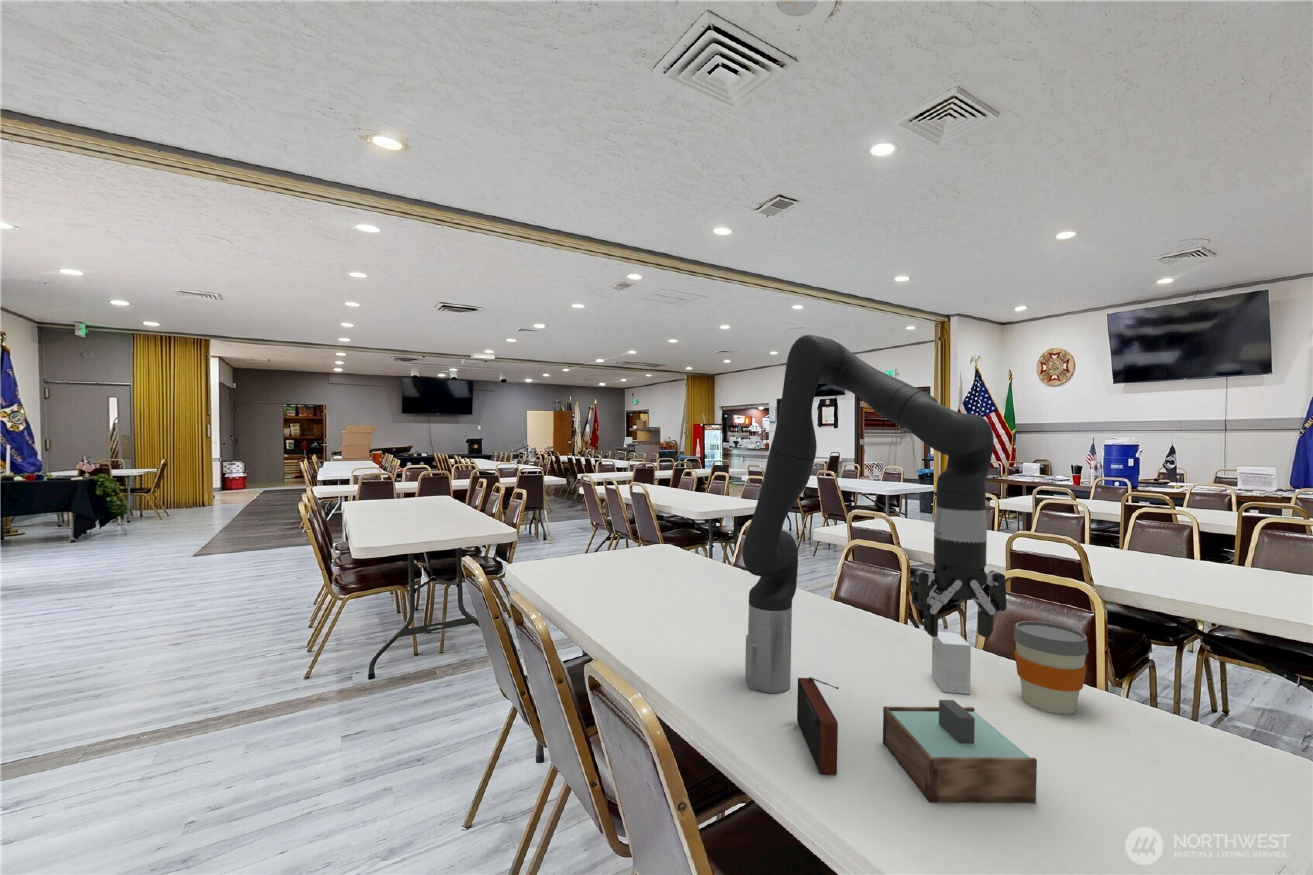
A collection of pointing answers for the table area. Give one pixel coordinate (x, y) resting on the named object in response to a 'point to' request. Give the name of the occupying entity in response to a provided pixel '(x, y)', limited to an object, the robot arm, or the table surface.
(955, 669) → the small box
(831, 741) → the radio
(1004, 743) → the cover plate
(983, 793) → the walnut box
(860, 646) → the table surface
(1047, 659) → the reusable coffee cup
